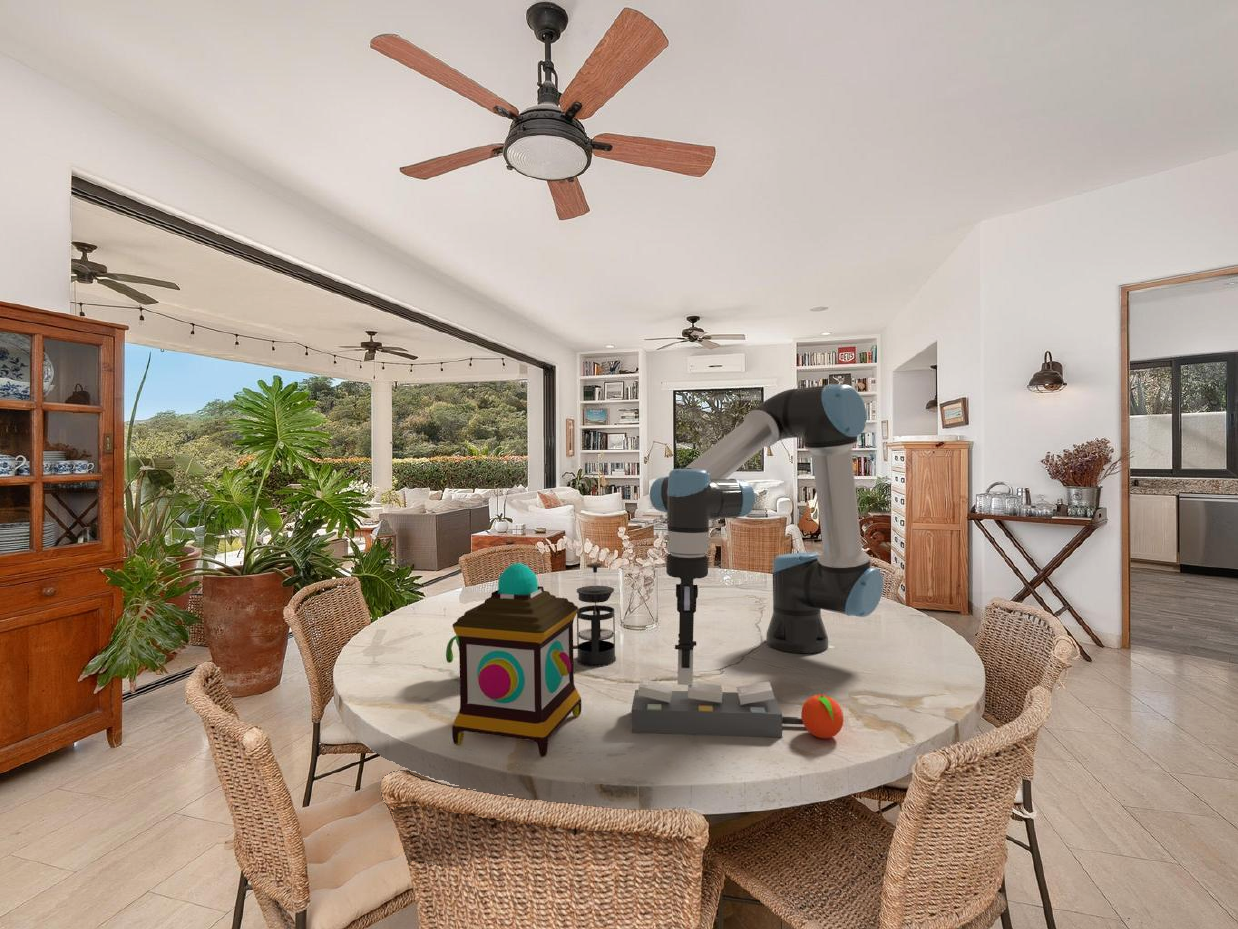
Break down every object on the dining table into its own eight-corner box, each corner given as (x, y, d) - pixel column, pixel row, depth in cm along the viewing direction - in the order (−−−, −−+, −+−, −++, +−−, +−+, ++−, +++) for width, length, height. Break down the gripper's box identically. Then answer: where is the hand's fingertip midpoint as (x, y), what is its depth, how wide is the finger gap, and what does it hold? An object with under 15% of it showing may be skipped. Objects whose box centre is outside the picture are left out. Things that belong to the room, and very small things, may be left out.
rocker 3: (771, 690, 110) (768, 680, 110) (774, 698, 106) (772, 689, 106) (738, 695, 111) (736, 686, 111) (740, 704, 107) (738, 695, 107)
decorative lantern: (497, 701, 121) (494, 552, 120) (591, 712, 115) (588, 555, 114) (440, 749, 101) (436, 571, 101) (549, 765, 96) (546, 576, 95)
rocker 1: (670, 693, 112) (672, 684, 112) (670, 702, 108) (672, 693, 108) (639, 686, 113) (640, 677, 113) (637, 694, 109) (639, 685, 109)
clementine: (853, 748, 100) (853, 705, 100) (813, 750, 99) (812, 707, 99) (833, 726, 108) (832, 686, 108) (795, 728, 107) (795, 688, 107)
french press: (618, 653, 149) (617, 560, 148) (618, 666, 139) (617, 567, 139) (571, 653, 149) (570, 560, 148) (567, 667, 139) (566, 568, 139)
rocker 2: (720, 693, 111) (721, 684, 111) (721, 702, 107) (722, 693, 107) (687, 689, 112) (688, 680, 112) (687, 698, 108) (688, 688, 108)
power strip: (807, 715, 112) (807, 692, 112) (818, 738, 103) (817, 713, 103) (635, 710, 115) (635, 688, 115) (631, 732, 107) (631, 708, 106)
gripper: (667, 547, 116) (665, 669, 117) (665, 559, 103) (663, 696, 104) (706, 549, 116) (704, 671, 116) (709, 560, 103) (707, 698, 103)
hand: (685, 683), depth 110 cm, fingers closed
